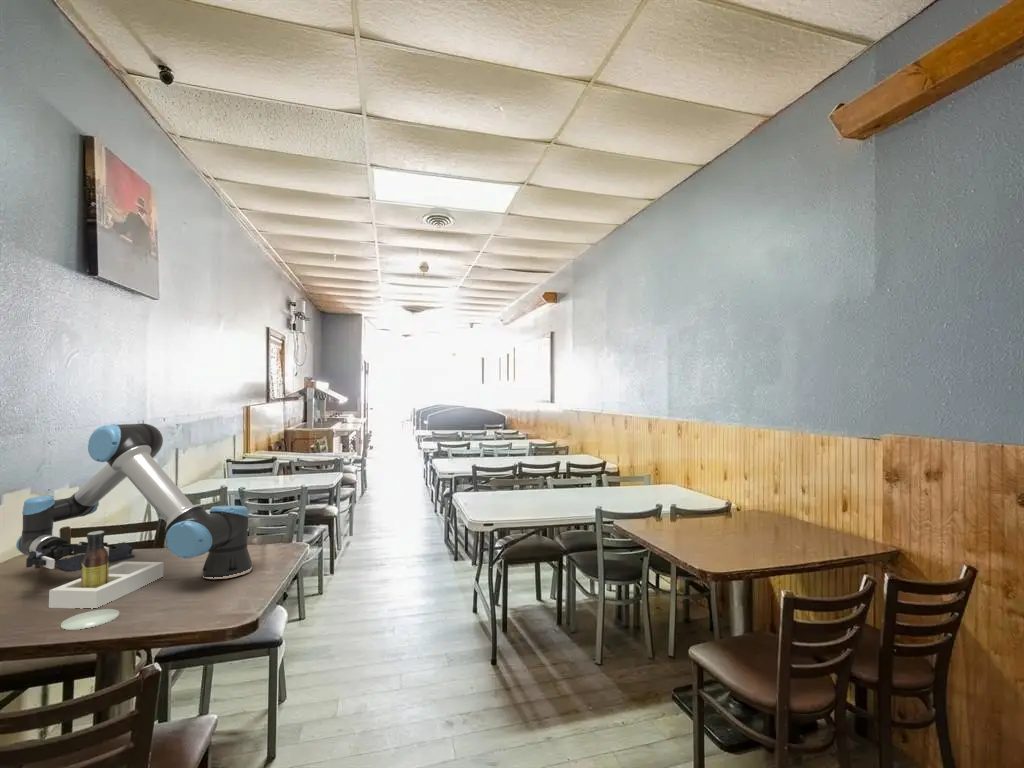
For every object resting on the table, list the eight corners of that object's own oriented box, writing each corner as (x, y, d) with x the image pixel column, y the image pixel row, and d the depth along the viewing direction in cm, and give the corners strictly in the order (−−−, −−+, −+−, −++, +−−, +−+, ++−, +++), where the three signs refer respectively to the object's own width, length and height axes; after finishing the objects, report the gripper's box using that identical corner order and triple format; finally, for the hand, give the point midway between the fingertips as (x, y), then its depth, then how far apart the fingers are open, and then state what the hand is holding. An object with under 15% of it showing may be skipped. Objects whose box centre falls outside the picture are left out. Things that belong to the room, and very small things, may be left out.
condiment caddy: (163, 577, 166) (163, 562, 166) (95, 608, 140) (96, 591, 140) (123, 576, 166) (123, 561, 166) (48, 607, 141) (49, 590, 141)
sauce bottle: (91, 594, 150) (94, 529, 151) (113, 594, 151) (115, 529, 152) (74, 603, 144) (77, 535, 145) (97, 602, 144) (99, 534, 145)
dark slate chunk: (48, 567, 176) (48, 554, 176) (120, 551, 196) (120, 539, 196) (68, 574, 169) (68, 560, 169) (140, 557, 189) (140, 544, 189)
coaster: (130, 611, 139) (130, 609, 139) (92, 630, 127) (92, 628, 127) (89, 610, 139) (89, 608, 139) (47, 629, 127) (47, 627, 127)
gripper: (95, 549, 172) (127, 559, 162) (-4, 571, 150) (26, 583, 140) (96, 528, 172) (128, 536, 163) (-3, 546, 150) (27, 556, 141)
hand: (81, 557), depth 152 cm, fingers open, 13 cm apart
